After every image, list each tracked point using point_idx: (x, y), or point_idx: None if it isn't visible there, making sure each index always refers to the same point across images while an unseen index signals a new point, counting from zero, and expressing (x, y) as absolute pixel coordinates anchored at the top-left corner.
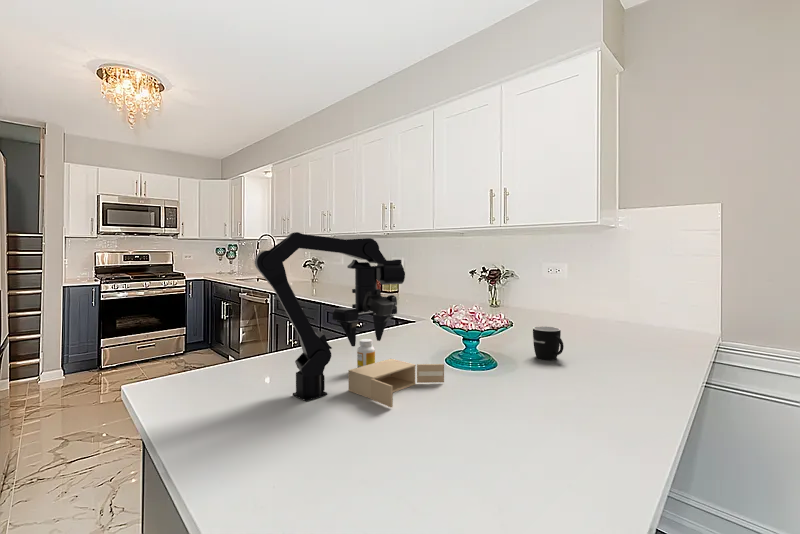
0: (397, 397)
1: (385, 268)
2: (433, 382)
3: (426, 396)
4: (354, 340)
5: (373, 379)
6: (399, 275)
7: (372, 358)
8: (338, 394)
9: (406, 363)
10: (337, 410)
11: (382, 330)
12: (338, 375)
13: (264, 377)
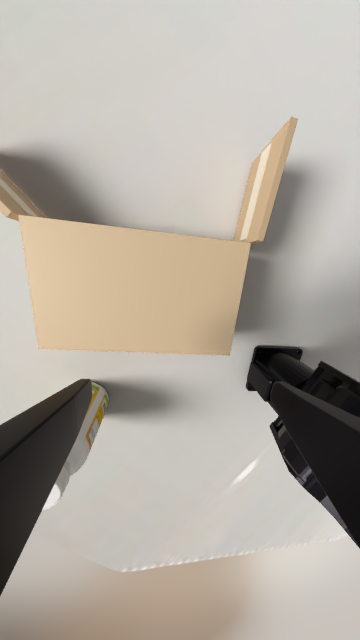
0: (180, 209)
1: None
2: (12, 183)
3: (122, 135)
4: (312, 399)
5: (262, 231)
6: None
7: None
8: (239, 333)
9: (37, 259)
10: (309, 269)
11: (22, 424)
12: (150, 417)
13: (240, 483)
